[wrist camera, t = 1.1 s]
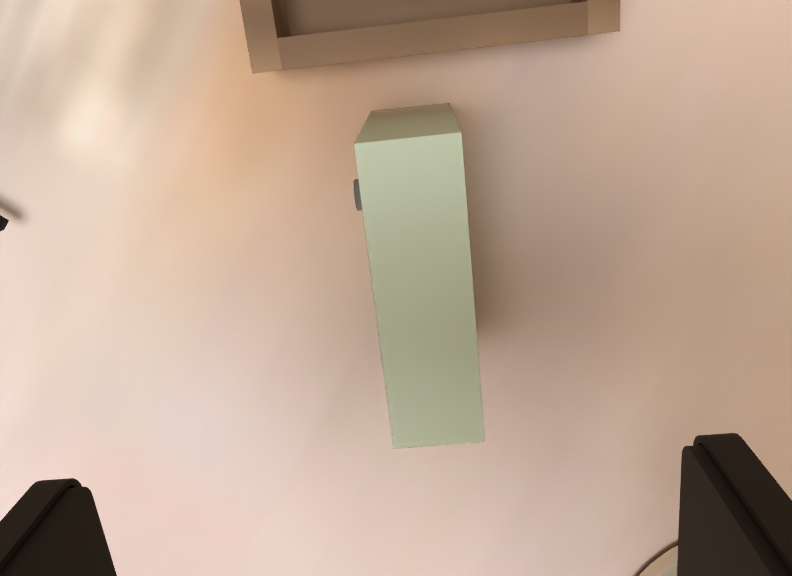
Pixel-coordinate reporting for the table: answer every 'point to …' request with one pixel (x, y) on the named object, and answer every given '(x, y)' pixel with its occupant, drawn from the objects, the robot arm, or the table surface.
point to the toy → (3, 223)
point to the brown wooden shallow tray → (407, 27)
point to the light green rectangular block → (421, 273)
